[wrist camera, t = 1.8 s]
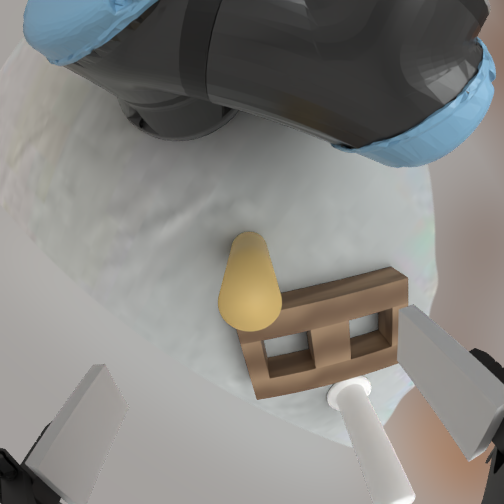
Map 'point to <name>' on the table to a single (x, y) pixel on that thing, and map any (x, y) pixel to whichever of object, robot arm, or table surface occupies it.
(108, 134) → the table surface
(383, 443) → the candle
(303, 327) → the socket block
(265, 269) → the peg
